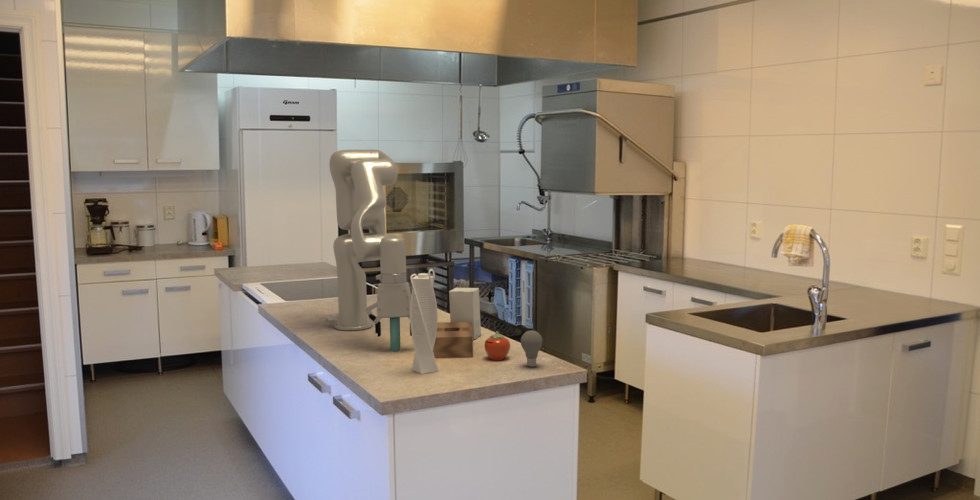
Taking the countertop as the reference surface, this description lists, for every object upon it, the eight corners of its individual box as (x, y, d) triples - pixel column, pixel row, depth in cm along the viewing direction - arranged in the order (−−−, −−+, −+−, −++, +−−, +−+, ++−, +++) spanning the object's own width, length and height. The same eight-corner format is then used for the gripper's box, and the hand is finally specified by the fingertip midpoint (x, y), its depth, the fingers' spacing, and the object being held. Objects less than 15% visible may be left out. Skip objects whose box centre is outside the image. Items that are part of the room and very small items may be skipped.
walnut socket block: (431, 358, 227) (430, 337, 226) (433, 341, 247) (433, 322, 246) (472, 357, 227) (472, 336, 226) (472, 340, 247) (471, 321, 246)
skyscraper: (444, 371, 213) (442, 268, 209) (420, 376, 209) (418, 271, 205) (429, 365, 219) (427, 265, 216) (406, 369, 215) (403, 267, 211)
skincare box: (481, 335, 254) (480, 287, 252) (474, 340, 247) (473, 291, 246) (457, 334, 256) (456, 286, 254) (449, 338, 250) (448, 290, 248)
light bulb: (519, 363, 220) (519, 328, 218) (540, 363, 220) (540, 327, 219) (522, 369, 214) (521, 333, 212) (544, 368, 214) (544, 332, 213)
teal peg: (390, 351, 235) (389, 318, 234) (390, 349, 238) (390, 316, 237) (400, 351, 235) (399, 318, 234) (400, 348, 238) (400, 316, 237)
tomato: (479, 357, 227) (479, 330, 226) (502, 354, 230) (501, 327, 229) (492, 363, 220) (492, 335, 219) (515, 359, 224) (515, 332, 223)
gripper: (362, 281, 230) (364, 339, 232) (422, 279, 230) (423, 337, 232) (365, 277, 237) (367, 333, 239) (423, 276, 238) (425, 332, 240)
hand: (395, 335), depth 236 cm, fingers open, 9 cm apart
